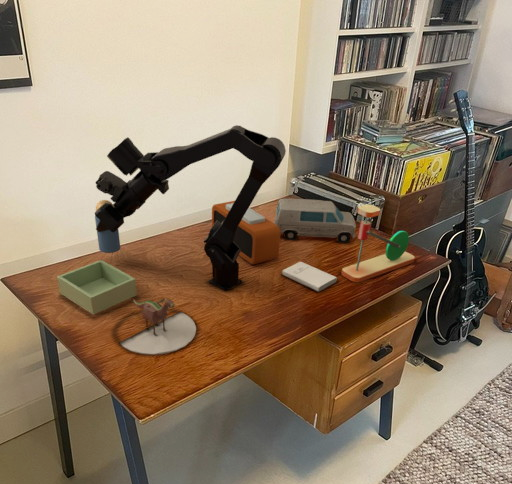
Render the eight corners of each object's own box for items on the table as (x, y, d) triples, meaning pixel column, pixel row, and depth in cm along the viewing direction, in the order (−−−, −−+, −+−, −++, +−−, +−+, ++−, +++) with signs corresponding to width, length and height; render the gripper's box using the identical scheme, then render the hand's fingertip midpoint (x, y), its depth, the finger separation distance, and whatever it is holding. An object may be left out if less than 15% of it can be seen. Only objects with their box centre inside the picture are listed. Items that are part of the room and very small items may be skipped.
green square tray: (137, 298, 129) (135, 278, 126) (93, 318, 121) (90, 297, 118) (103, 278, 136) (101, 259, 133) (60, 296, 128) (56, 276, 125)
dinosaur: (212, 333, 119) (212, 291, 112) (145, 365, 108) (141, 321, 102) (164, 300, 129) (162, 261, 122) (99, 327, 118) (93, 285, 112)
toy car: (354, 243, 161) (359, 213, 156) (274, 239, 161) (276, 208, 155) (349, 229, 170) (354, 199, 164) (273, 225, 169) (275, 195, 164)
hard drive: (318, 292, 136) (281, 275, 143) (336, 282, 141) (300, 265, 148) (318, 287, 135) (282, 269, 142) (337, 276, 140) (301, 260, 147)
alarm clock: (211, 234, 161) (211, 198, 155) (234, 229, 165) (235, 194, 159) (254, 267, 146) (256, 229, 139) (278, 260, 150) (282, 223, 143)
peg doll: (121, 251, 137) (116, 203, 130) (100, 254, 136) (93, 205, 128) (118, 243, 142) (113, 195, 134) (98, 245, 140) (91, 197, 132)
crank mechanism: (355, 283, 141) (368, 215, 130) (338, 273, 145) (349, 206, 134) (416, 261, 154) (432, 197, 143) (399, 252, 158) (413, 190, 147)
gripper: (130, 152, 132) (94, 189, 140) (97, 175, 117) (60, 216, 125) (161, 186, 136) (125, 221, 144) (134, 213, 121) (95, 250, 129)
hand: (102, 226), depth 135 cm, fingers closed on peg doll, 5 cm apart
